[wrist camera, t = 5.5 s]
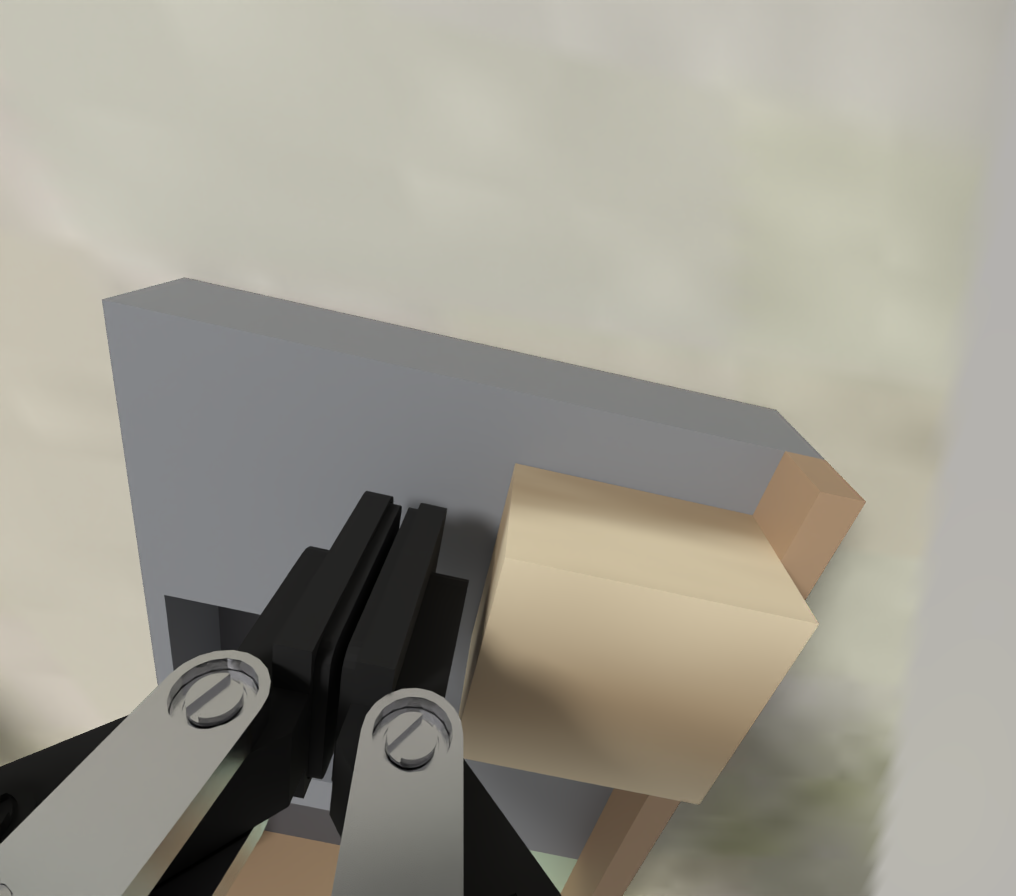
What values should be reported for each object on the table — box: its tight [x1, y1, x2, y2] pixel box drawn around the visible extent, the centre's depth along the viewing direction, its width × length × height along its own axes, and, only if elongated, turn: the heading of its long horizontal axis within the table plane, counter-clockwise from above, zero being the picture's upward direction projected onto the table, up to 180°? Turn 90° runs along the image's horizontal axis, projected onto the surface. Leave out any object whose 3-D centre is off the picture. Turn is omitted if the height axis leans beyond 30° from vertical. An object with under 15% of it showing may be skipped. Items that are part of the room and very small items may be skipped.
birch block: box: [459, 463, 819, 805], centre depth 11 cm, size 5×5×3 cm
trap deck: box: [102, 278, 866, 896], centre depth 16 cm, size 23×14×4 cm, turn 168°
